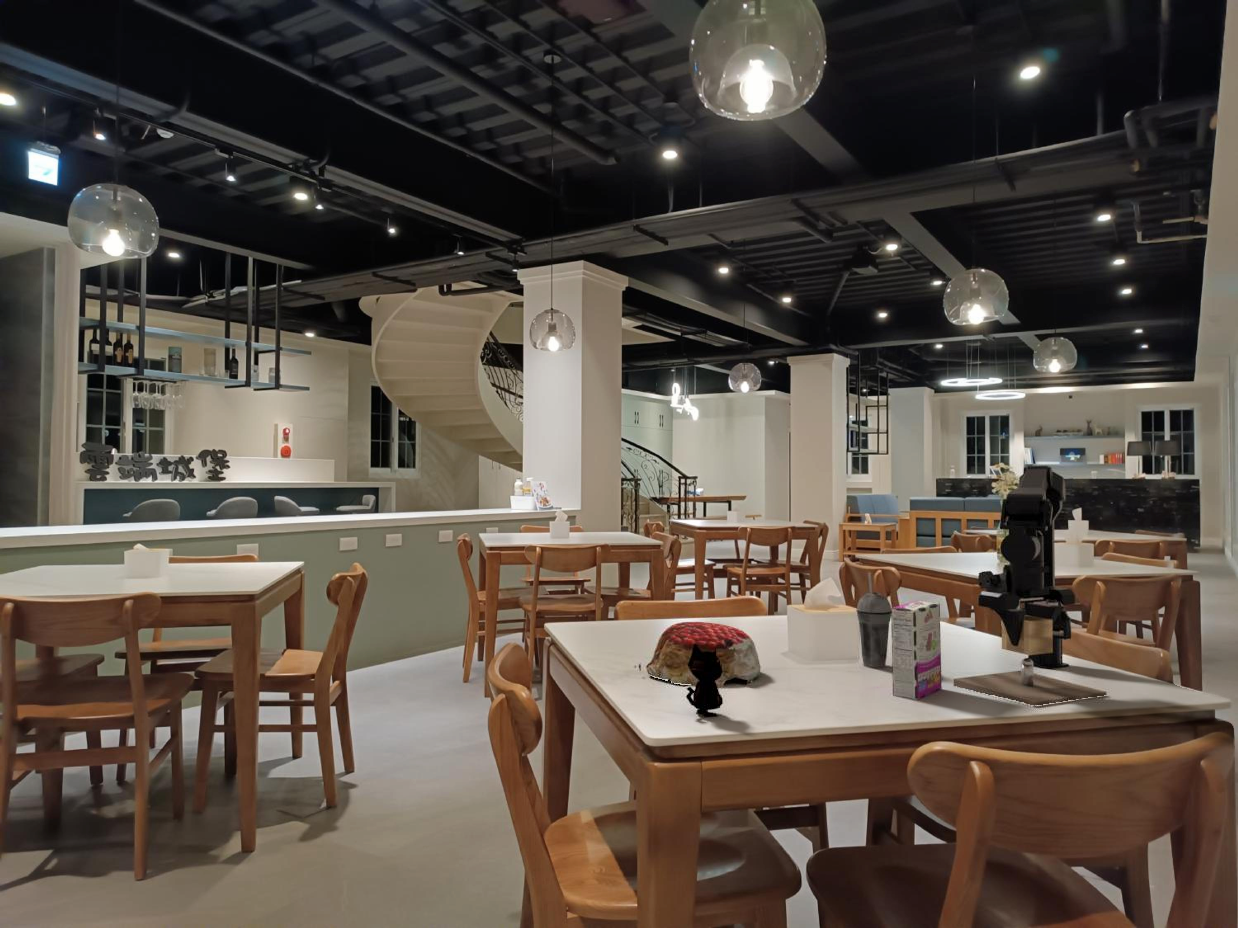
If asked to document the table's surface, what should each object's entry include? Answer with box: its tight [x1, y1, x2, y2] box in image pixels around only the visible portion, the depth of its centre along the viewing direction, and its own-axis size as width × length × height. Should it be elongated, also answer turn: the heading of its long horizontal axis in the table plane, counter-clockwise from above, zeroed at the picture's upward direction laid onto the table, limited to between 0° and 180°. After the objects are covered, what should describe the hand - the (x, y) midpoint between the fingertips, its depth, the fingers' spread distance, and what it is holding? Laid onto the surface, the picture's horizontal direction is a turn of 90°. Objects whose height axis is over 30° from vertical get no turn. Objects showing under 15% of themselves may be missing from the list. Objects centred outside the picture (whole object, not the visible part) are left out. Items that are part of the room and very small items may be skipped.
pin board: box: [953, 657, 1108, 706], centre depth 151 cm, size 18×18×6 cm
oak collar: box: [1001, 615, 1054, 656], centre depth 151 cm, size 6×6×6 cm
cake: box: [634, 621, 761, 687], centre depth 166 cm, size 23×24×10 cm
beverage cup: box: [856, 571, 892, 669], centre depth 173 cm, size 7×7×20 cm
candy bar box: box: [890, 600, 943, 701], centre depth 151 cm, size 11×5×16 cm, turn 136°
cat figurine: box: [685, 644, 730, 718], centre depth 135 cm, size 7×7×12 cm
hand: (1027, 644), depth 151 cm, fingers closed on oak collar, 6 cm apart
